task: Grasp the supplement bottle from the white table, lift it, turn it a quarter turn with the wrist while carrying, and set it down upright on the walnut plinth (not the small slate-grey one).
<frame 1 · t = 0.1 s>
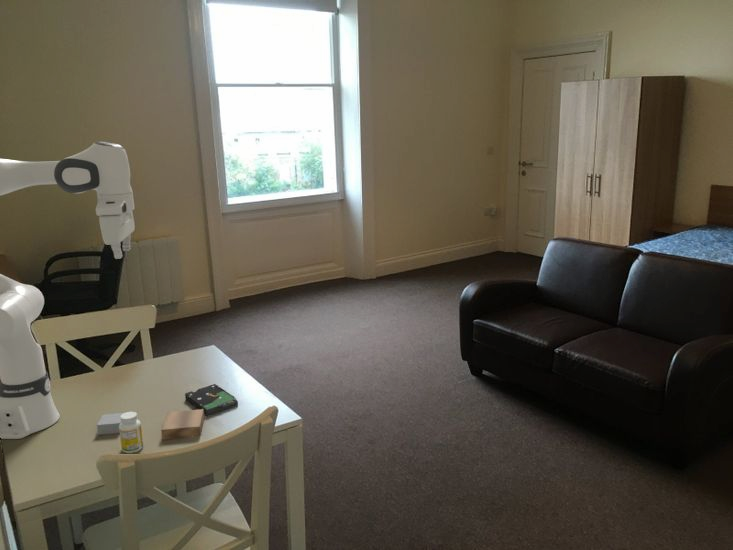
hand: (122, 254, 166), 48 cm above the table, fingers open, 8 cm apart
supplement bottle: (133, 449, 159), on the table
disk drive: (211, 404, 184), on the table
slate plinth: (112, 428, 169), on the table
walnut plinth: (184, 428, 168), on the table
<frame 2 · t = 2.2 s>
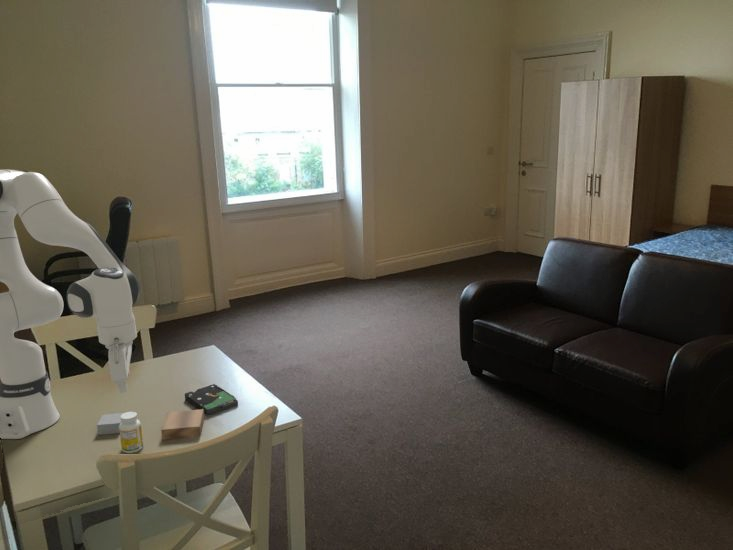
hand: (124, 383, 154), 18 cm above the table, fingers open, 8 cm apart
nothing on the table moved.
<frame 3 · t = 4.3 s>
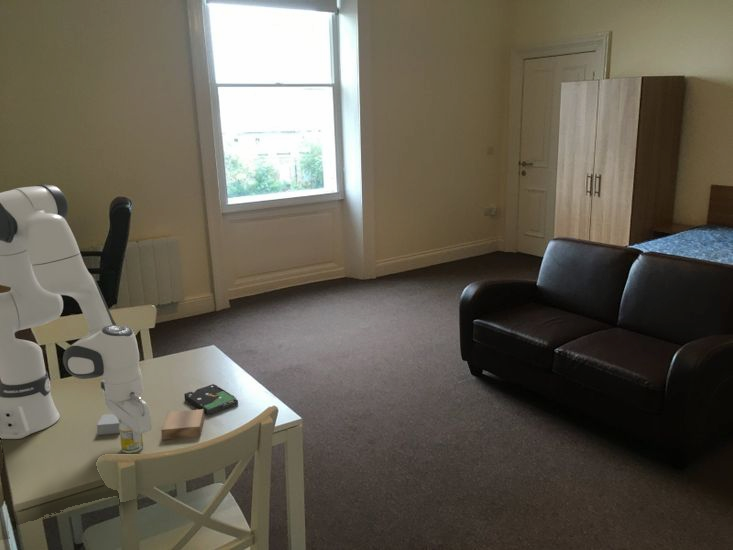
hand: (131, 435, 158), 4 cm above the table, fingers closed on supplement bottle, 5 cm apart
supplement bottle: (133, 448, 159), on the table, touching gripper
everything else where it was.
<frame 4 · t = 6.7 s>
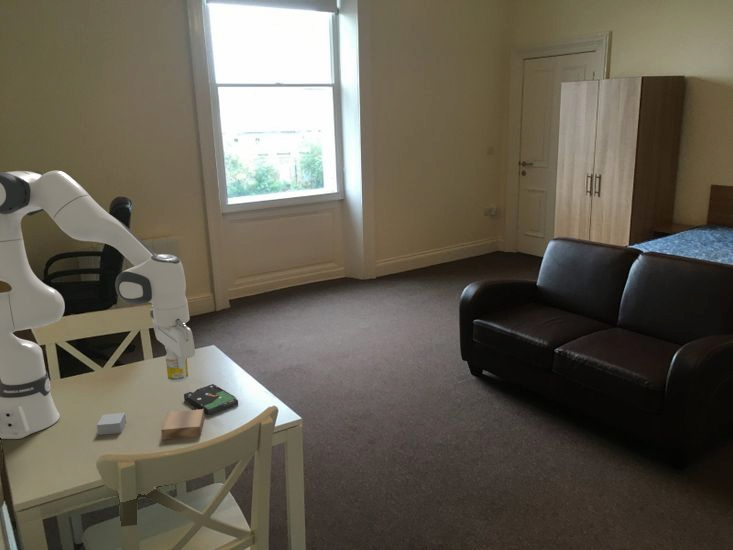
hand: (177, 364, 163), 19 cm above the table, fingers closed on supplement bottle, 5 cm apart
supplement bottle: (178, 379, 165), point 15 cm above the table, touching gripper
everything else where it was.
when the fingers open (8 cm above the table, at t = 9.3 s): supplement bottle stays where it is, resting on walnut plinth.
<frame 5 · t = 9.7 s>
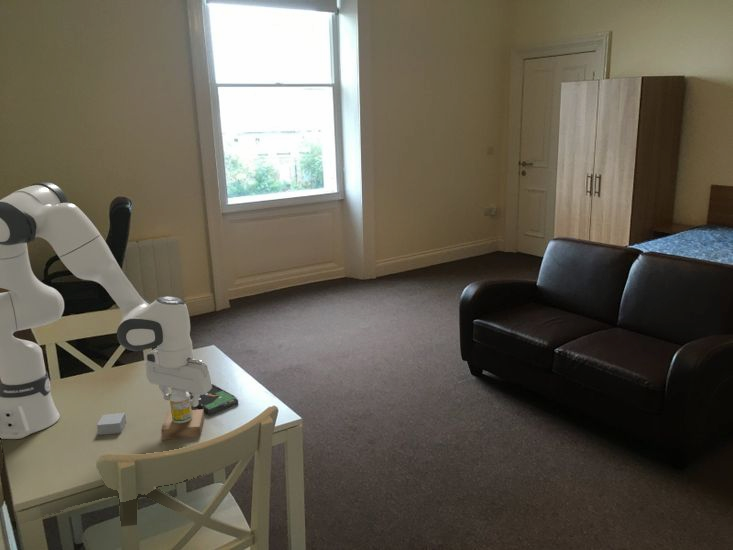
hand: (181, 402, 166), 8 cm above the table, fingers open, 8 cm apart
supplement bottle: (182, 419, 168), point 3 cm above the table, touching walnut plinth
everything else where it was.
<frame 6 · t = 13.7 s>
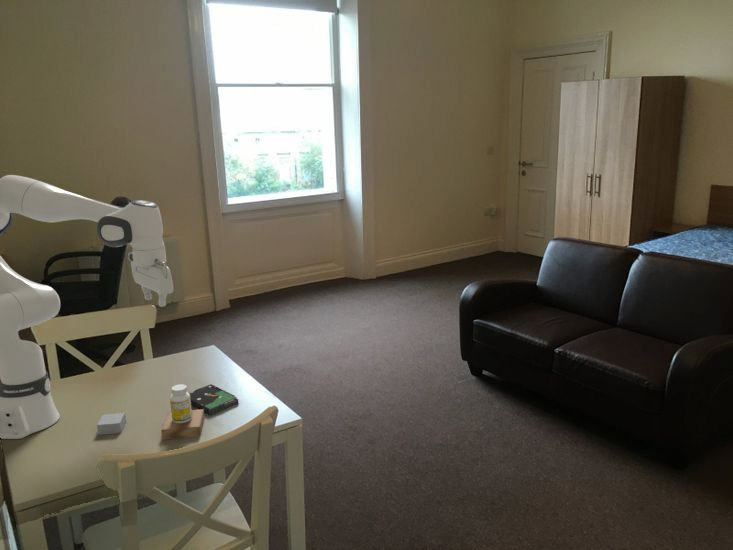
hand: (155, 302, 178), 31 cm above the table, fingers open, 8 cm apart
nothing on the table moved.
at the end: supplement bottle inside the target area on the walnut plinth (0.2 cm from its centre), point 2.8 cm above the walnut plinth's base; supplement bottle tilted 0°; the gripper is holding nothing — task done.
